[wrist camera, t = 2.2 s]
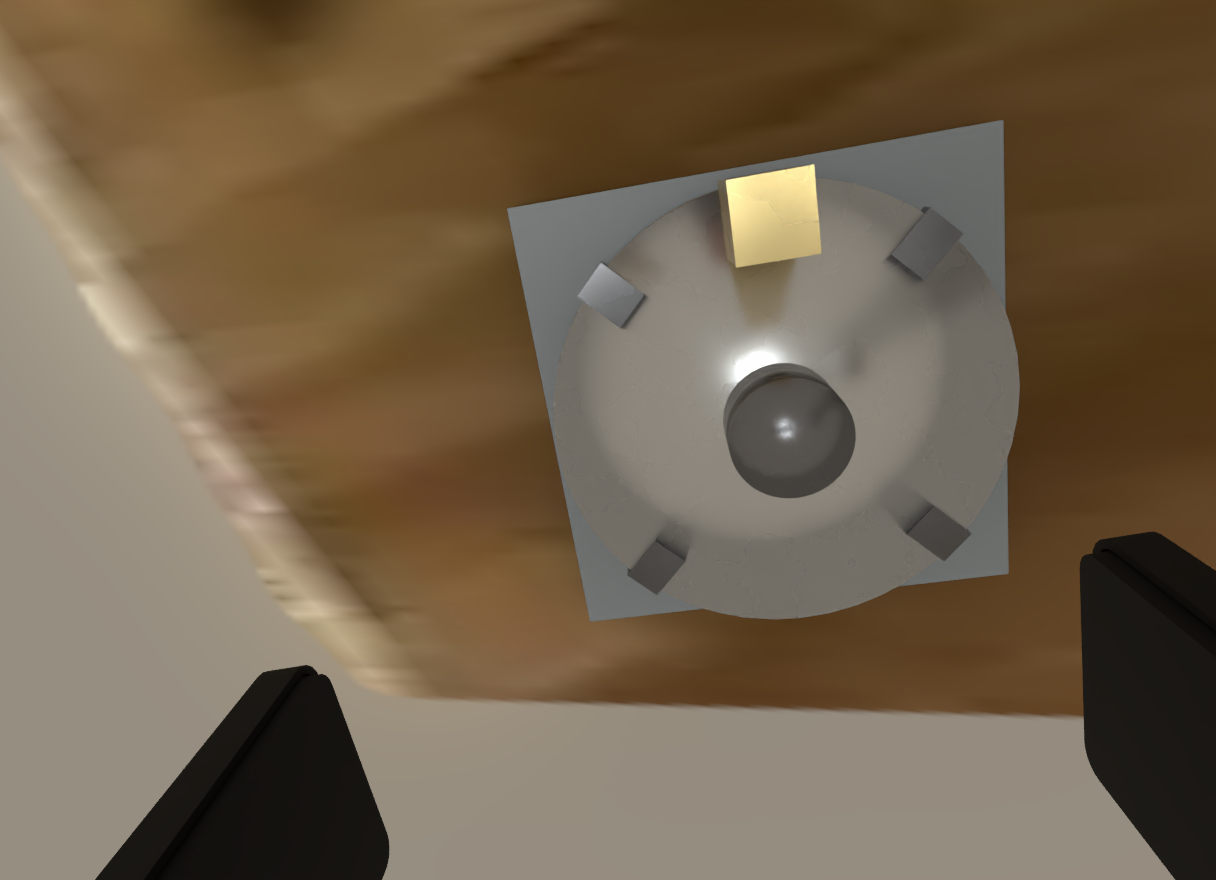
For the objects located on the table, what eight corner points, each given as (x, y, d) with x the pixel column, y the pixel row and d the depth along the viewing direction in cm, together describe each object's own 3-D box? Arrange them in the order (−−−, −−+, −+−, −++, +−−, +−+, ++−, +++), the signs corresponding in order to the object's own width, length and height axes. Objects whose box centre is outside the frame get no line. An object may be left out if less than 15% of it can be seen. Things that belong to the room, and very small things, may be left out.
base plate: (514, 207, 29) (506, 208, 27) (985, 123, 27) (1004, 119, 25) (593, 603, 34) (590, 622, 32) (993, 556, 32) (1009, 575, 30)
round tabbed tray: (998, 567, 30) (1069, 647, 25) (599, 613, 32) (587, 697, 27) (991, 131, 25) (1077, 117, 20) (520, 215, 27) (487, 222, 22)
